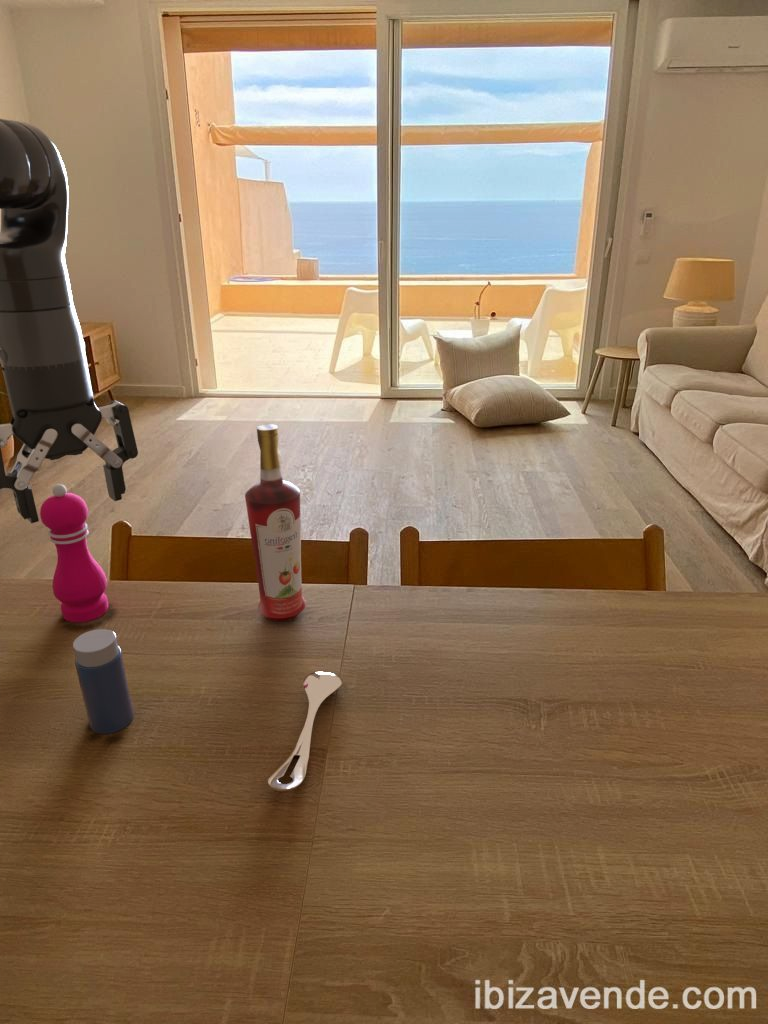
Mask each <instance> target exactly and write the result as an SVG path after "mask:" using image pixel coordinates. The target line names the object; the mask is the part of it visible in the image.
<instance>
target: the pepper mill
mask: <svg viewBox="0 0 768 1024" xmlns="http://www.w3.org/2000/svg"><path fill="white" fill-rule="evenodd" d="M51 492H52V494H53V495H51V496H49V497H47V498H46V499H45V500H44V501H43V503H42V504H41V506H40V510H39V515H40V516H39V517H40V520H41V523H42V524H43V525H44V527H46V528H47V529H48V531H47V533H48V535H49V541H50V542H51V543H52V544H54V545H55V549H56V554H57V562H56V567H55V570H54V574H53V578H52V593H53V595H54V598H56V600H58V601H59V602H61V603H60V609H61V614H62V617H63V619H64V620H65V621H67V622H69V623H85V622H91V621H94V620H97V619H98V618H100V617H102V616H103V615H105V613H107V612H108V609H109V602H108V601H109V600H108V596H107V595H106V593H105V592H106V590H107V587H108V579H107V576H106V574H105V571H104V570H103V568H102V567H101V566H100V564H99V563H98V562H97V561H96V560H95V558H94V557H93V556H92V554H91V552H90V550H89V547H88V541H87V537H89V533H90V531H89V530H88V524H87V523H86V521H87V519H88V516H89V509H88V505H87V503H86V501H85V500H84V498H82V497H81V496H80V495H77V494H76V493H71V492H68V489H67V487H66V486H65V485H64V484H61V483H58V484H57V483H56V484H55V485H54V486H53V487H52V489H51Z"/></svg>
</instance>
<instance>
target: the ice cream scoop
mask: <svg viewBox="0 0 768 1024" xmlns="http://www.w3.org/2000/svg"><path fill="white" fill-rule="evenodd" d="M343 682H344V678H343V677H342V676H340V675H339V674H338V673H335V672H331V671H323V670H319V671H317V670H316V671H313V672H310V673H308V674H307V675H306V676H305V677H304V678H303V682H302V683H303V687H304V690H305V693H306V696H307V698H308V699H307V700H308V711H307V716H306V719H305V723H304V726H303V728H302V730H301V733H300V735H299V737H298V739H297V741H296V743H295V745H294V746H293V748H292V750H291V751H290V753H289V754H288V755H287V756H286V757H285V759H283V761H282V762H281V763H280V764H279V765H278V766H277V767H276V768H275V769H274V770H273V771H272V772H271V774H270V775H269V777H268V779H267V785H268V787H269V788H270V789H272V790H274V791H277V792H287V791H292V790H295V789H298V787H300V786H301V784H302V783H303V782H304V780H305V777H306V776H307V772H308V766H309V760H310V750H311V740H312V734H313V733H312V732H313V727H314V726H313V725H314V720H315V718H316V714H317V712H318V709H319V707H320V706H321V704H322V703H323V702H324V701H325V700H326V698H328V697H329V696H331V694H333V693H334V692H335V691H336V690H338V689H339V688H340V687H341V686H342V684H343ZM295 757H299V758H298V760H297V761H296V764H295V765H294V768H293V769H292V771H291V774H290V775H289V778H290V779H292V781H291V782H289V783H281V782H279V780H280V779H282V778H284V777H285V775H286V773H287V771H288V769H289V767H290V765H291V763H292V761H293V759H294V758H295Z"/></svg>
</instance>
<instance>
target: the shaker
mask: <svg viewBox="0 0 768 1024" xmlns="http://www.w3.org/2000/svg"><path fill="white" fill-rule="evenodd" d="M117 639H118V638H117V634H116V633H115V632H114V631H112V630H111V629H106V628H105V629H104V628H98V629H93V630H89V631H86V632H83V633H82V634H80V635H79V636H77V637H76V638H75V639H74V640H73V643H72V648H73V653H74V659H73V660H74V665H75V670H76V675H77V679H78V682H79V687H80V691H81V696H82V700H83V703H84V708H85V712H86V717H87V721H88V725H89V728H90V731H92V732H93V733H96V734H100V735H109V734H114V733H117V732H119V731H121V730H123V729H125V728H126V727H128V726H129V725H130V724H131V723H132V722H133V719H134V709H133V704H132V699H131V695H130V689H129V685H128V679H127V675H126V670H125V664H124V661H123V655H122V650H121V648H120V646H119V645H118V640H117Z"/></svg>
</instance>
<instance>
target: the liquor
mask: <svg viewBox="0 0 768 1024" xmlns="http://www.w3.org/2000/svg"><path fill="white" fill-rule="evenodd" d="M256 434H257V435H256V437H257V442H258V446H259V451H260V459H259V462H260V463H259V464H260V467H259V469H260V471H259V472H260V474H259V475H260V476H259V477H260V479H259V482H257V483H254V484H253V485H252V486H251V487H250V488H248V490H247V491H245V493H244V498H245V506H246V512H247V519H248V526H249V532H250V538H251V544H252V550H253V557H254V562H255V571H256V577H257V585H258V592H259V593H258V594H259V603H258V605H257V610H258V612H259V613H260V614H261V615H262V616H264V617H266V618H267V619H269V620H271V621H273V622H279V623H281V622H287V621H291V620H293V619H294V618H295V617H297V616H298V615H299V614H301V612H303V611H304V610H305V608H306V606H307V602H306V599H305V598H304V597H303V583H302V582H303V581H302V579H303V578H302V518H301V516H302V515H301V490H300V488H299V487H298V486H296V485H295V484H293V483H292V482H290V481H287V480H284V478H283V472H282V467H281V461H280V456H279V450H278V448H279V426H278V425H277V424H272V423H267V424H266V423H265V424H260V425H258V426H256Z"/></svg>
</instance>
